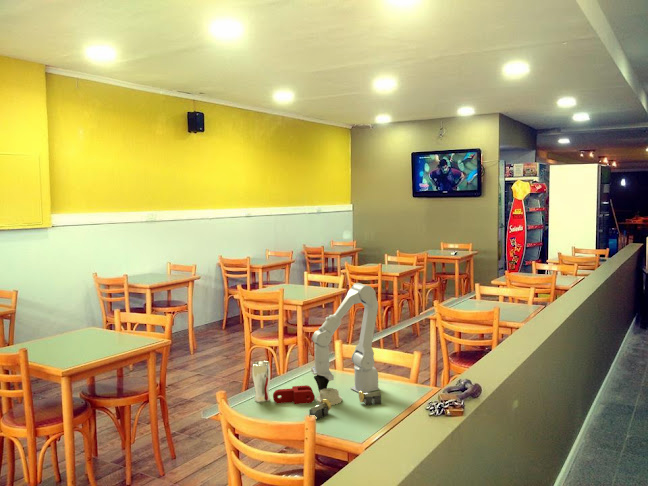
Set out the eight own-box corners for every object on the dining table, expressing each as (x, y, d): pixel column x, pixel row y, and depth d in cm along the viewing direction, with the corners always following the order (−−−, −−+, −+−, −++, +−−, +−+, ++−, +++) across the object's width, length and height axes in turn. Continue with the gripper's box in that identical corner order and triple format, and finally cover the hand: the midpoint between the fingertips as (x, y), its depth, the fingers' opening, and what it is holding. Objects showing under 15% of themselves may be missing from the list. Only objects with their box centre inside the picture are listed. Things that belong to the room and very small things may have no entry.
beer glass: (274, 398, 235) (273, 361, 234) (265, 403, 229) (264, 366, 228) (259, 395, 238) (258, 359, 237) (250, 401, 232) (248, 364, 231)
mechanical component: (314, 405, 227) (339, 406, 225) (313, 394, 226) (339, 395, 224) (319, 396, 237) (343, 397, 235) (319, 385, 236) (343, 386, 234)
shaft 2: (361, 406, 224) (361, 392, 224) (358, 402, 228) (358, 389, 228) (381, 404, 226) (381, 391, 225) (378, 400, 230) (378, 387, 229)
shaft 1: (322, 411, 220) (322, 397, 220) (331, 413, 217) (331, 400, 217) (308, 417, 214) (308, 403, 213) (317, 420, 211) (317, 406, 211)
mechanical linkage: (312, 397, 236) (312, 384, 236) (314, 403, 229) (314, 390, 229) (272, 400, 234) (272, 387, 233) (274, 406, 227) (273, 393, 226)
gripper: (304, 357, 239) (305, 390, 240) (322, 366, 227) (323, 400, 228) (319, 354, 243) (320, 386, 244) (337, 363, 230) (338, 397, 231)
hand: (322, 393), depth 236 cm, fingers closed
